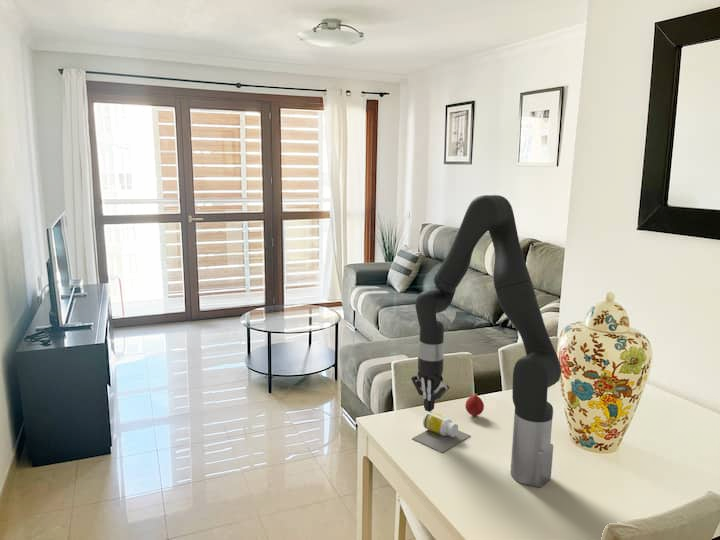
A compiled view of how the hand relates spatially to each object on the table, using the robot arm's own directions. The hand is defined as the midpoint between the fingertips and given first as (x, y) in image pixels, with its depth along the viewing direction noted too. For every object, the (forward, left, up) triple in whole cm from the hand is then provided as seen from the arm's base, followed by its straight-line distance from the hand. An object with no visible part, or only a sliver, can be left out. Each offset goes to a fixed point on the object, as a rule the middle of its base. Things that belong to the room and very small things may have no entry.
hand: (428, 410), depth 158 cm
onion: (-4, -19, -7) cm, 21 cm away
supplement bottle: (+2, -2, -4) cm, 5 cm away
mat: (-5, 0, -7) cm, 9 cm away
